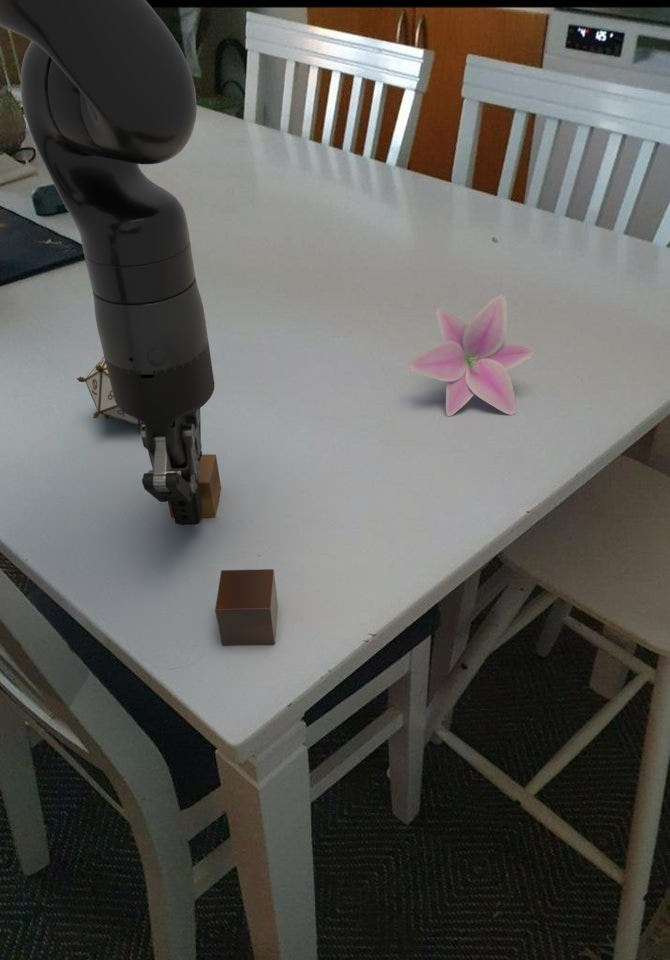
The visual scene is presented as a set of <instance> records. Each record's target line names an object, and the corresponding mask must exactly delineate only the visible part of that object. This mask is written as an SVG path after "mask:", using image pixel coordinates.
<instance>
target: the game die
mask: <svg viewBox="0 0 670 960" xmlns="http://www.w3.org/2000/svg"><path fill="white" fill-rule="evenodd" d="M76 380H77V381H78V382H79V383H85V384H86V388H87V389H88V391H89V394H90V397H91V399H92V401H93V403H94V406H95V408H96V410H97V411H95V412H94V413H93V414H92V415H93V416H92V418H93V419H98V418H99V417H100V416H101V415H102V416H103V417H104V419H110V418H112V419H115V420H119V421H122V422H125V423H128V424H132V425H135V426H137V430H138V432H140V433H141V426H142V425H143V424H144V423H143V422H141V421H140V420H138V419H136V418H134V417H132V416H130V415H128V414H126V413H125V412H123V411H122V410H121V409H120V408H119V407H118V406H117V404H116V402H115V399H114V396H113V391H112V387H111V383H110V379H109V375H108V370H107V366H106V362H105V358H104V356H103V357H102V358H101V359H100V361H98V363H97V364H96V365H95V366H94V368H93V369H92V370H91V371H90V373H89V374H88V375H87V376H86V377H84V376H79V377H77V378H76Z"/></svg>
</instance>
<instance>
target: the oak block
mask: <svg viewBox="0 0 670 960" xmlns="http://www.w3.org/2000/svg"><path fill="white" fill-rule="evenodd" d="M198 467H199V470H200V476H199V480H198V486H199V492H200V497H201V503H202V509H203V511H202V516H201V518H215V517H217V516H216V515H217V511H218V506H219V502H220V497H221V492H222V484H221V477H220V471H219V464H218V458H217V454H212V453H211V454H209V453H207V454H202V457H201V460H200V461H198ZM167 505H168V510H169V515H170V518H174V516H173V512H172V507H171V502H170V501H169V502H167Z"/></svg>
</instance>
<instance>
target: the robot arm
mask: <svg viewBox="0 0 670 960" xmlns="http://www.w3.org/2000/svg"><path fill="white" fill-rule="evenodd" d="M0 27H1V28H3V29H6V30H7V31H10V32H11V33H14V34H17V35H20V36H22V37H23V38H25V39H28V40H29V41H30V43H29V44H28V46H27V48H26V50H25V53H24V56H23V58H22V59H23V60H22V64H21V69H20V96H21V105H22V110H23V114H24V119H25V121H26V124H27V127H28V129H29V133H30V135H31V139H32V140H33V143H34V145H35V147H36V149H37V152H38V153H39V156H40V158H41V160H42V162H43V164H44V166H45V168H46V170H47V173H48V175H49V176H50V179H51V180H52V182H53V184H54V187H55V189H56V191H57V193H58V195H59V197H60V199H61V201H62V203H63V205H64V207H65V208H66V210H67V212H68V214H69V216H70V217H71V219H72V221H73V222H74V225H75V226H76V228H77V231H78V234H79V237H80V241H81V246H82V253H83V255H84V256H83V257H84V260H85V265H86V270H87V273H88V278H89V283H90V286H91V290H92V295H93V303H94V305H93V306H94V316H95V322H96V328H97V333H98V336H99V339H100V340H99V341H100V345H101V349H102V353H103V357H104V358H105V362H106V366H107V370H108V375H109V379H110V383H111V387H112V391H113V396H114V399H115V402H116V404H117V406H118V407H119V408H120V409H121V410H122V411H123V412H125V413H126V414H128V415H130V416H132V417H134V418H136V419H138V420H140V421H141V422H143V423H142V424H141V425H142V426H141V432H140V437H141V441H142V445H143V447H144V448H145V450H147V452H148V456H149V461H150V465H151V468H152V469H151V470H150V469H149V470H148V471H147V472H145V473H143V475H142V479H141V483H142V486H143V489H144V490H145V491H146V492H147V493H149V494H150V495H151V496H152V497H153V498H155V499H156V500H157V501H158V502H159V503H168V502H169V501H170V502H171V507H172V512H173V516H174V517H173V520H174V523H175V524H176V525H178V526H198V525H199V524H201V520H202V517H201V516H202V511H203V509H202V503H201V497H200V492H199V486H198V480H199V476H200V470H199V467H198V461H200V460H201V457H202V455H203V451H202V448H203V447H202V433H201V432H202V430H201V427H202V426H201V408H202V407H203V406H205V405H206V404H207V403H208V401H209V400H210V399H211V397H212V396H213V394H214V391H215V379H214V377H215V376H214V371H213V364H212V363H213V362H212V357H211V350H210V343H209V336H208V328H207V321H206V316H205V309H204V304H203V303H204V302H203V299H202V297H201V292H200V290H199V287H198V282H197V277H196V272H195V266H194V258H193V253H192V244H191V238H190V232H189V231H190V230H189V226H188V225H189V224H188V219H187V215H186V212H185V209H184V206H183V205H182V203H181V202H180V200H179V199H177V197H176V196H175V195H174V194H172V193H171V192H169V191H168V190H166V189H165V188H163V187H161V186H159V185H158V184H156V183H155V182H153V181H152V180H150V179H149V178H148V177H147V176H146V175H145V174H144V172H143V171H142V170H141V168H140V165H158V164H162V163H165V162H168V161H170V160H171V159H173V158H175V157H176V156H177V155H179V154H180V152H182V151H183V149H184V148H185V147H186V146H187V144H188V142H189V141H190V139H191V137H192V135H193V132H194V128H195V124H196V120H197V113H198V112H197V109H198V108H197V107H198V106H197V93H196V87H195V82H194V78H193V75H192V71H191V68H190V65H189V64H188V61H187V59H186V57H185V54H184V52H183V50H182V49H181V47H180V45H179V43H178V42H177V40H176V38H175V37H174V35H173V33H172V32H171V31H170V29H169V28H168V27H167V25H166V24H165V23H164V21H163V20H162V19H161V17H160V16H159V15H158V14H157V12H156V11H155V10H154V8H153V7H152V6H151V5H150V3H149V2H148V1H147V0H0Z"/></svg>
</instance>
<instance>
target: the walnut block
mask: <svg viewBox="0 0 670 960" xmlns="http://www.w3.org/2000/svg"><path fill="white" fill-rule="evenodd" d="M219 576H220V577H219V582H218V590H217V596H216V602H215V608H214V611H215V617H216V622H217V628H218V632H219V637H220V643H221V645H222V646H254V645H255V646H258V645H259V646H260V645H275V644H276V634H277V622H278V621H277V620H278V607H279V604H278V603H279V602H278V595H277V593H278V592H277V586H276V585H277V584H276V577H275V570H274V569H273V568H271V569H269V568H268V569H267V568H265V569H222V570H220V575H219Z"/></svg>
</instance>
